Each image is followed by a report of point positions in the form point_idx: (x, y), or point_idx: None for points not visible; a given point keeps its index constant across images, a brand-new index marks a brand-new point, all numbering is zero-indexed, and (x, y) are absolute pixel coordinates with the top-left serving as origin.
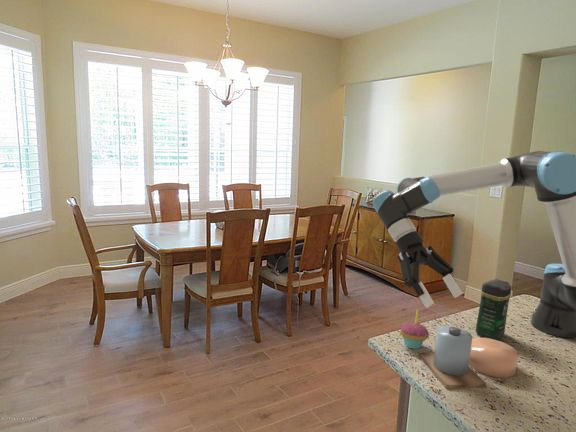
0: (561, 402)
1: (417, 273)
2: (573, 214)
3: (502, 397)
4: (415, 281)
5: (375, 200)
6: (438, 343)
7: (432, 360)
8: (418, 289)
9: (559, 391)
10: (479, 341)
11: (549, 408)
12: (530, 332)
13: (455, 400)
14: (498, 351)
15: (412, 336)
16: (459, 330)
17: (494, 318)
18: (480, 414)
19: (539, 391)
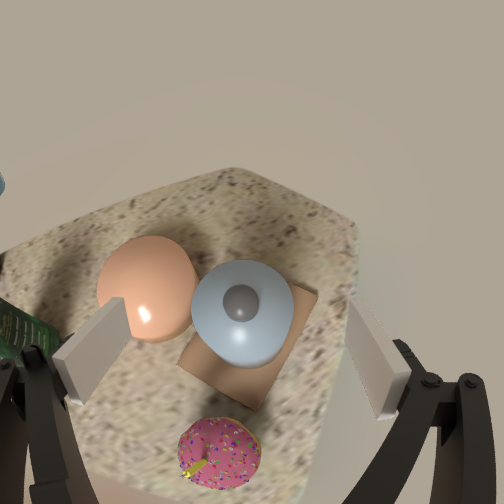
0: (185, 188)
1: (404, 428)
2: None
3: (248, 233)
4: (440, 379)
5: None
6: (287, 333)
7: (260, 370)
8: (415, 358)
9: (156, 199)
10: (129, 314)
11: (215, 190)
12: None
13: (331, 270)
14: (144, 267)
15: (254, 438)
16: (234, 289)
17: (28, 322)
18: (324, 231)
19: (179, 212)
